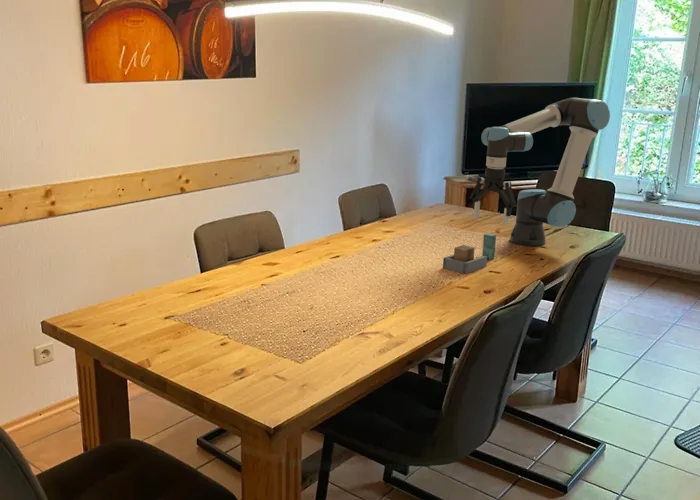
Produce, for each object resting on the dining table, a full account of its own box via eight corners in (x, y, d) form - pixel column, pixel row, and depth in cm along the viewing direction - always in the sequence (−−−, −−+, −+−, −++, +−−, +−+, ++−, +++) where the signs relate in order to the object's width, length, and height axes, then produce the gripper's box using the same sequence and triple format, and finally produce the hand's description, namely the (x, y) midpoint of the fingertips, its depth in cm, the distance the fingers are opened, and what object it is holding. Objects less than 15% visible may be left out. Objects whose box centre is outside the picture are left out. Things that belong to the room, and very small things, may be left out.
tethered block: (485, 256, 280) (487, 232, 277) (495, 259, 277) (497, 235, 274) (453, 267, 264) (454, 242, 262) (464, 270, 261) (465, 245, 258)
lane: (463, 260, 274) (464, 250, 273) (486, 266, 267) (487, 256, 266) (442, 267, 264) (443, 257, 263) (465, 274, 257) (466, 263, 256)
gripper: (463, 164, 273) (459, 216, 278) (519, 172, 256) (513, 228, 262) (474, 162, 278) (469, 214, 284) (529, 170, 262) (523, 225, 267)
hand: (490, 221), depth 273 cm, fingers open, 13 cm apart
